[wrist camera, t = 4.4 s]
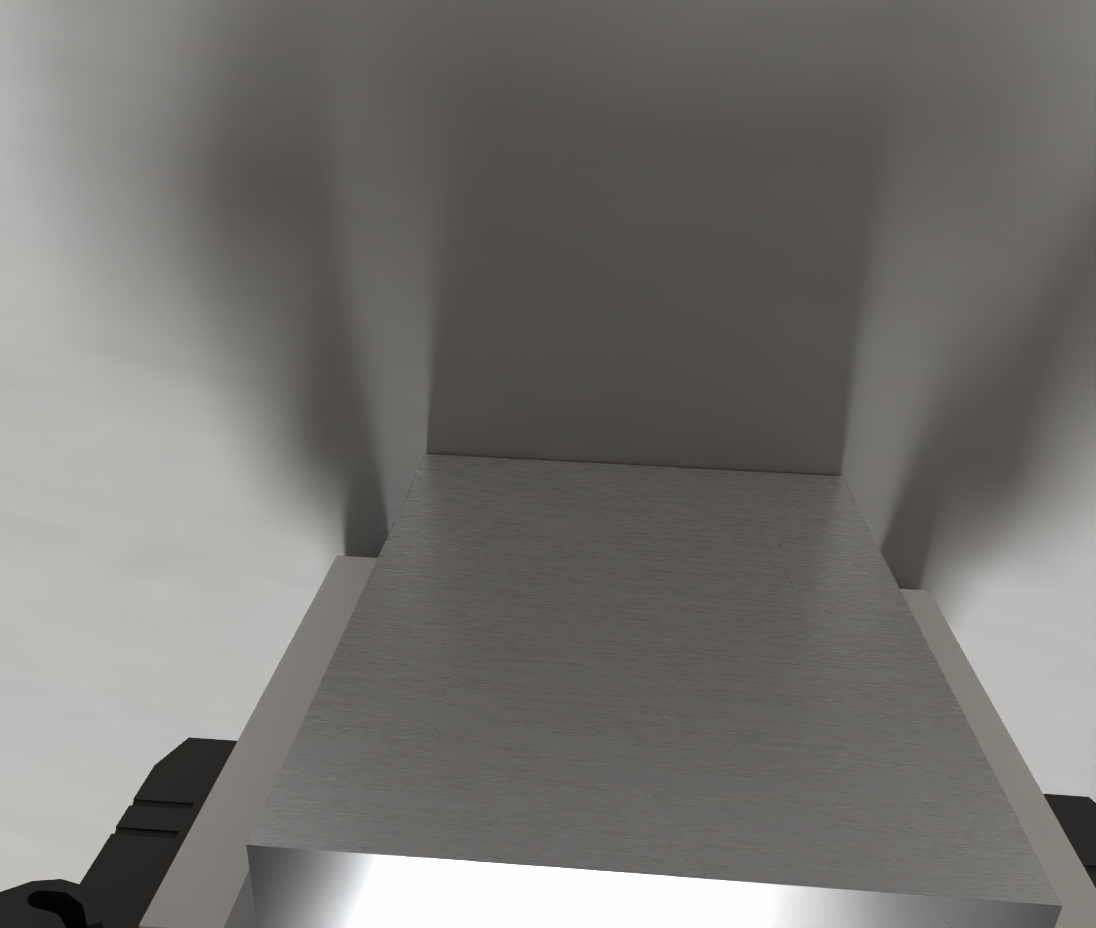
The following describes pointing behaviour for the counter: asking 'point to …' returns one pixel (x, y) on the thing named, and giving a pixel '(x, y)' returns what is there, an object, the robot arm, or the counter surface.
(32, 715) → the counter surface
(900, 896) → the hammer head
